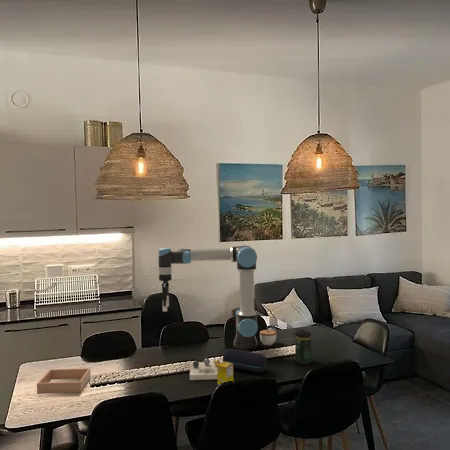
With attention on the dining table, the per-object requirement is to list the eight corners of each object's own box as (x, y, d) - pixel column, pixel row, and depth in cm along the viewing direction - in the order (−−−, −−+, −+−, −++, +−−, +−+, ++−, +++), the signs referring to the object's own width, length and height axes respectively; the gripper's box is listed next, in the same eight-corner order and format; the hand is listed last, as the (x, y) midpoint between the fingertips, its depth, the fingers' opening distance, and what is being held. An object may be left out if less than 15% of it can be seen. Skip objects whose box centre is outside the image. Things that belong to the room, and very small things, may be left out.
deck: (190, 366, 266) (190, 362, 266) (222, 366, 267) (222, 361, 267) (189, 380, 246) (189, 375, 246) (224, 378, 247) (224, 374, 247)
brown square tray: (90, 377, 252) (90, 368, 252) (80, 392, 232) (80, 382, 232) (50, 378, 251) (49, 369, 251) (37, 393, 231) (36, 383, 231)
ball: (209, 363, 263) (209, 357, 263) (210, 366, 260) (209, 359, 260) (203, 364, 263) (203, 358, 263) (203, 366, 260) (203, 360, 260)
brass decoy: (220, 364, 262) (219, 358, 262) (220, 366, 258) (220, 360, 258) (213, 365, 262) (213, 358, 261) (213, 367, 258) (213, 360, 258)
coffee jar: (313, 363, 269) (313, 331, 268) (300, 365, 266) (300, 332, 266) (305, 358, 278) (305, 327, 277) (293, 360, 276) (292, 328, 275)
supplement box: (224, 382, 242) (224, 361, 242) (233, 385, 239) (233, 363, 238) (217, 386, 238) (216, 364, 237) (226, 388, 234) (226, 366, 234)
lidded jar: (256, 342, 311) (256, 328, 311) (271, 340, 316) (270, 326, 315) (265, 347, 301) (264, 332, 301) (279, 344, 306) (279, 330, 306)
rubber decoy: (199, 366, 260) (198, 359, 260) (198, 368, 257) (198, 362, 257) (192, 366, 260) (192, 360, 260) (192, 368, 257) (192, 362, 256)
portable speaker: (269, 370, 260) (269, 352, 259) (261, 376, 251) (261, 357, 251) (229, 363, 272) (229, 345, 272) (220, 368, 264) (220, 350, 263)
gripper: (160, 271, 299) (161, 304, 300) (156, 277, 275) (157, 313, 275) (172, 270, 300) (173, 304, 301) (170, 276, 275) (170, 313, 276)
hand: (165, 308), depth 288 cm, fingers open, 13 cm apart
